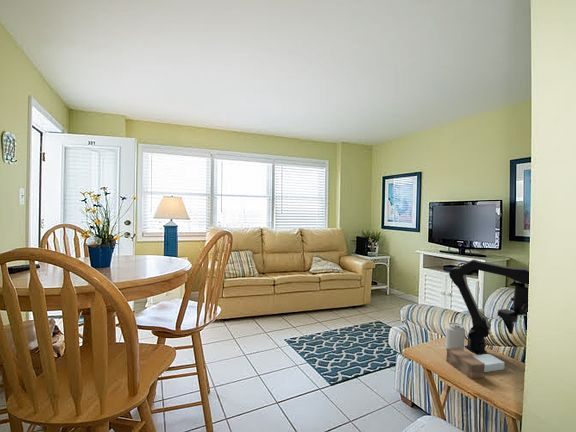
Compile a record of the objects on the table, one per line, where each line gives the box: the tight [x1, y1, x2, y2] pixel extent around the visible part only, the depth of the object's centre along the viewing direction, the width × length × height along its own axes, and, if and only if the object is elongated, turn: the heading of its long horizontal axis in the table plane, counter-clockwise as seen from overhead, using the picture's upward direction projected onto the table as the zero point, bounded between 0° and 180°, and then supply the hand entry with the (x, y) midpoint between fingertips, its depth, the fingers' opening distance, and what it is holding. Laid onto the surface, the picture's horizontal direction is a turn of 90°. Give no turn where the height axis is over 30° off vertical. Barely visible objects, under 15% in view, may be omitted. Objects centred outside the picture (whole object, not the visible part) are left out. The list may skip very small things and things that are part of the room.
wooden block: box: [445, 347, 485, 380], centre depth 125 cm, size 13×6×6 cm, turn 14°
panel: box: [472, 353, 505, 373], centre depth 128 cm, size 7×12×3 cm, turn 104°
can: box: [444, 321, 466, 351], centre depth 140 cm, size 8×8×12 cm
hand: (519, 332), depth 131 cm, fingers open, 9 cm apart
